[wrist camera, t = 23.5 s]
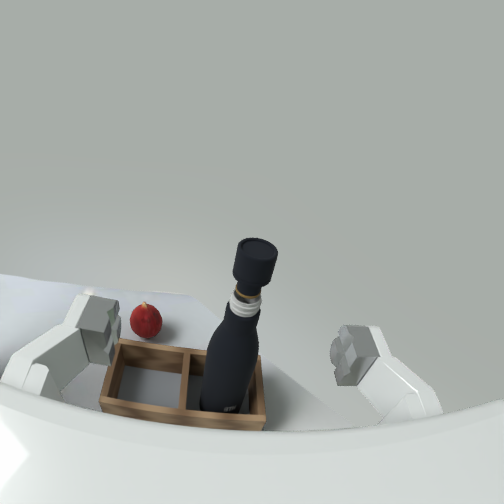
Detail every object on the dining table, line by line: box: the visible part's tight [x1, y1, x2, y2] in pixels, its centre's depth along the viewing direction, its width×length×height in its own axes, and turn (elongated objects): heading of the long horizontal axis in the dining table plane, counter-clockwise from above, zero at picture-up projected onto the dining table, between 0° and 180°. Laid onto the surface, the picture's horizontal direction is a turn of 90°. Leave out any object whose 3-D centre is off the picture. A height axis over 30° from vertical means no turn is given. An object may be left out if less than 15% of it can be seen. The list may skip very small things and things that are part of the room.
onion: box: [130, 302, 162, 338], centre depth 54 cm, size 6×6×8 cm
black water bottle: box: [199, 238, 278, 414], centre depth 38 cm, size 6×6×30 cm
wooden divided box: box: [99, 338, 266, 431], centre depth 44 cm, size 23×12×6 cm, turn 93°
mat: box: [102, 365, 263, 431], centre depth 46 cm, size 25×14×1 cm, turn 93°
